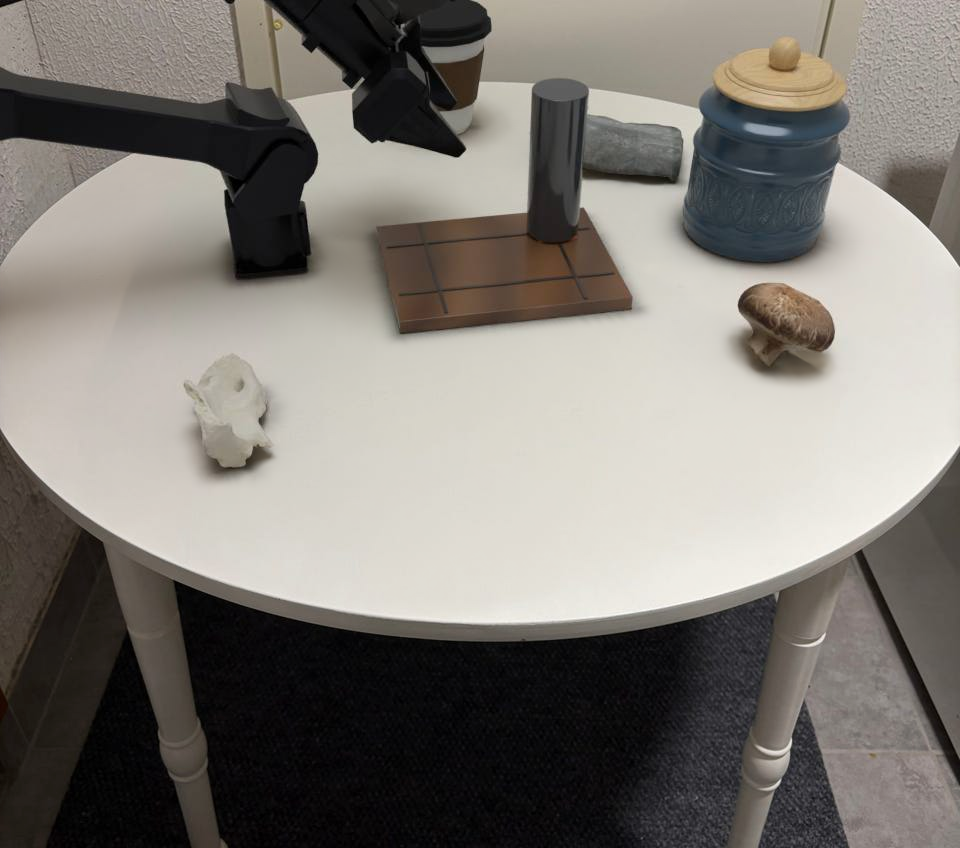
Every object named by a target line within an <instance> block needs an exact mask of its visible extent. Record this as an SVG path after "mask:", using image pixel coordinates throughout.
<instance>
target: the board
mask: <svg viewBox="0 0 960 848" xmlns="http://www.w3.org/2000/svg"><path fill="white" fill-rule="evenodd" d="M526 222H527V212H520V213H517V212H515V213H506V214H496V215H485V216H473V217H464V218H463V217H462V218H452V219H441V220H440V219H439V220H430V221H419V222H408V223H397V224H387V225H386V224H385V225H377V226H376V227H375V229H376V230H375V231H376V239H377V243H378V247H379V252H380V256H381V260H382V264H383V269H384V272H385V276H386V277H385V278H386V281H387V285H388V289H389V292H390V297H391V301H392V305H393V309H394V313H395V318H396V321H397V326H398V330H399V334H409V333H419V332H429V331H436V330H437V331H438V330H447V329H457V328H466V327H474V326H484V325H492V324H493V325H494V324H502V323H503V324H505V323H512V322H513V323H514V322H521V321H532V320H540V319H541V320H542V319H550V318H560V317H568V316H569V317H570V316H578V315H587V314H597V313H598V314H599V313H606V312H607V313H608V312H616V311H625V310H632V305H633V299H634V297H633V295H632V293H631V291H630V289H629V288H628V285H627V284H626V282H625V280H624V278H623V277H622V274H621V273H620V270H619V269H618V267H617V266H616V264H615V262H614V260H613V258H612V257H611V255H610V253H609V251H608V249H607V247H606V246H605V243H604V242H603V240H602V238H601V236H600V235H599V233H598V231H597V229H596V227H595V226H594V224H593V222H592V220H591V218H590V216H589V214H588V212H587V211H586V209H585V207H580V214H579V227H578V233H577V235H576V236H575V237H574V238H572V239H570V240H567V241H564V242H557V243H551V242H543V241H540V240H537V239H535V238H533V237H531V236H530V235H529V234H528V233H527V230H526Z"/></svg>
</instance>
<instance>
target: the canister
mask: <svg viewBox="0 0 960 848" xmlns="http://www.w3.org/2000/svg"><path fill="white" fill-rule="evenodd" d="M713 71H714V72H713V75H712V82H713V85H711V86H710V87H708V88H707V89H706V90H705V91H704V92H703V93H702V94H701V96H700V97H699V100H698V109H699V111H700V113H701V115H702V120H701V124H700V126H699V127H698V128H697V129H696V131H695V132H694V135H693V138H692V144H693V153H692V158H691V159H692V160H691V165H690V171H689V179H688V185H687V191H686V193H685V195H684V198H683V205H682V216H683V227H684V230H685V233H687V235H688V236H689V238H690V239H692V240H693V241H694V242H695V243H696V244H697V245H699V246H700V247H702V248H703V249H706V250H707V251H710V252H712V253H714V254H716V255H718V256H722V257H725V258H730V259H732V260H733V259H734V260H738V261H745V262H753V263H754V262H757V263H767V262H768V263H770V262H779V261H784V260H789V259H793V258H795V257H798V256H800V255H803V254H804V253H806V252H807V251H809V250H810V249H811V248H812V247H813V246H814V245H815V242H816V240H817V238H818V237H817V236H819V235H820V232H821V231H822V228H823V224H824V221H825V218H826V217H825V216H826V211H825V210H826V205H827V202H828V197H829V194H830V190H831V186H832V182H833V177H834V174H835V171H836V166H837V164H838V163H839V161H840V159H841V155H842V150H841V146H840V143H839V140H840V139H839V137H840V134H841V133H842V132H843V131H844V130H845V129H847V126H848V125H849V123H850V120H851V111H850V109H849V106H848V105H847V104H846V103H845V101H843V100H842V99H843V98H844V97H845V96H846V94H847V90H848V84H847V81H846V80H845V79H844V77H843V76H842V75H841V74H839V72H837V71H836V70H835V69H834V68H833V67H832V66H831V65H830V64H829V62H827V61H826V60H824V59H822V58H821V57H819V56H816V55H814V54H811V53H808V52H805V51H802V48H801V45H800V43H799V41H798V40H796V39H795V38H793V37H791V36H783V37H779V38H778V39H776V40H775V41H774V42H773V43H772V44H771V47H768V48H767V47H764V48H756V49H749V50H747V51H744V52H741V53H739V54H737V55H736V56H735V57H734V58H731V59H728V60H727V61H725V62H723V63H721V64H719V65H718V66H717V67H716V68H715V70H713Z"/></svg>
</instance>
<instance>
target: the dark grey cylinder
mask: <svg viewBox="0 0 960 848" xmlns="http://www.w3.org/2000/svg"><path fill="white" fill-rule="evenodd" d="M530 97H531V100H530V101H531V102H530V121H529V122H530V126H529V149H528V151H529V152H528V171H527V172H528V173H527V174H528V177H527V201H526V213H527V222H526V230H527V233H528V234H529V235H530V236H531V237H533V238H535V239H537V240H540V241H543V242H551V243H557V242H564V241H567V240H570V239H572V238H574V237H575V236H576V235H577V233H578V227H579V214H580V208H581V202H582V201H581V199H582V187H583V186H582V185H583V175H584V168H583V163H584V150H585V137H586V125H587V114H588V111H589V97H590V89H589V87H588V86H587V85H586V83H584V82H581V81H579V80H575V79H572V78H564V77H563V78H562V77H553V78H552V77H551V78H546V79H543V80H539V81H537V82H536V83H534V84H533V85H532V87H531V96H530Z"/></svg>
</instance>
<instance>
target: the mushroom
mask: <svg viewBox="0 0 960 848" xmlns="http://www.w3.org/2000/svg"><path fill="white" fill-rule="evenodd" d="M737 309H738V310H737V311H738V313H739V314H740V315H741V316H742V317H743V319H745V321H746V322H748V324H749V326H750V328H751V330H752V334H751V335H750V336H749V337H748V339H747V344H748V345H749V347H750V349H751V350H752V352H753V353H754V354H755V355H756V356H757V357H758V359H759V360H761V361H762V362H763V363H764V364H765V365H767V366H768V367H771V366H772V364H773V363H774V362H775V360H776V359H777V358H778V357H779V356H780V355H781V354H782V353H783V352H785V351H788V350H803V351H808V352H813V353H823V352H825V351H827V350H828V349H829V348H830V347H831V346H832V344H833V342H834V340H835V335H836V329H835V323H834V320H833V317H832V315H831V313H830V311H829V310H828V309H827V308H826V307H825V306H824V305H823V303H822V302H821V301H820V300H818V299H817V298H814V297H812V296H810V295H808V294H806V293H804V292H802V291H800V290H798V289H796V288H794V287H792V286H790V285H789V284H786V283H784V282H762V283H757V284H754V285H752V286H750V287H748V288H747V289H745V290H744V291H743V292H742V293H741V294H740V296H739V297H738V301H737Z"/></svg>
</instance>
